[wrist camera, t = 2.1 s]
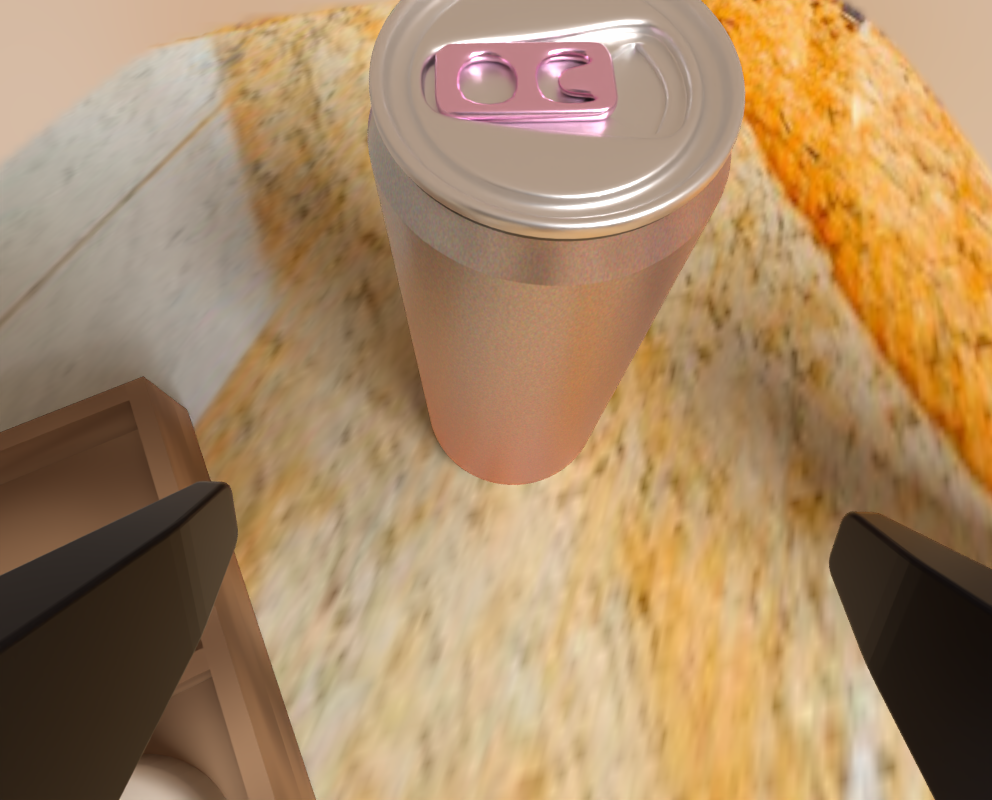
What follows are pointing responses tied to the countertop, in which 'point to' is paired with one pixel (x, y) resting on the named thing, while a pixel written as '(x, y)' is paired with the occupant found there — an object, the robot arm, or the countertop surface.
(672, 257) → the beverage can
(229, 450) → the countertop surface
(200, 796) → the cream rounded shiny part
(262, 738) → the caddy
